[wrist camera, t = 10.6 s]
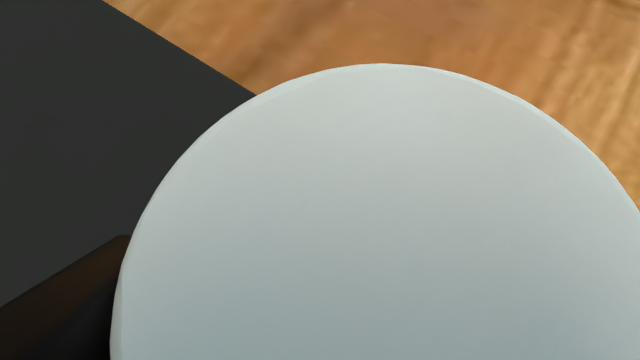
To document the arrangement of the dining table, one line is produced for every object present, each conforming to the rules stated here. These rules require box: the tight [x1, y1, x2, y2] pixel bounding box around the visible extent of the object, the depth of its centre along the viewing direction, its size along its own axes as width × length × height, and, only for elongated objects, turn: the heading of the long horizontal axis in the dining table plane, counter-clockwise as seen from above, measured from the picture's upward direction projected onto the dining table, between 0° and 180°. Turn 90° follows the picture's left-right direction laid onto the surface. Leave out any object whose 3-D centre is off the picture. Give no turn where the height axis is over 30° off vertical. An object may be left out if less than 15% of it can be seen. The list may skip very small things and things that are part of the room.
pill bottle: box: [110, 63, 640, 360], centre depth 10 cm, size 6×6×11 cm
